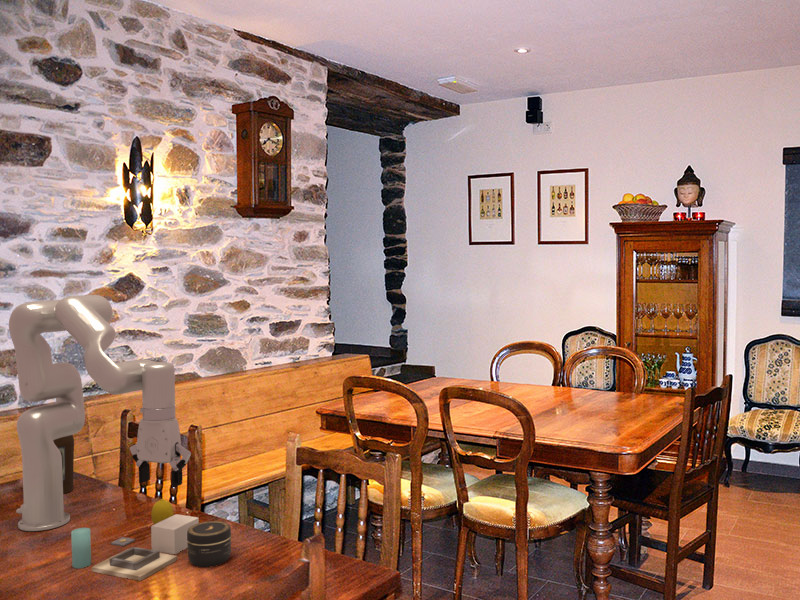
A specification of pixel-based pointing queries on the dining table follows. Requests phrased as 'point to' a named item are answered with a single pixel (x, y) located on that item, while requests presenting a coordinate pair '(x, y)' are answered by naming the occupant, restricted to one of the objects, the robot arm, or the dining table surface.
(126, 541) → the tile
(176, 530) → the block
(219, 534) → the jar
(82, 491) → the dining table surface
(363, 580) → the dining table surface
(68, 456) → the olive oil
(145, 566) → the board
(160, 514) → the lemon
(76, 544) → the peg
